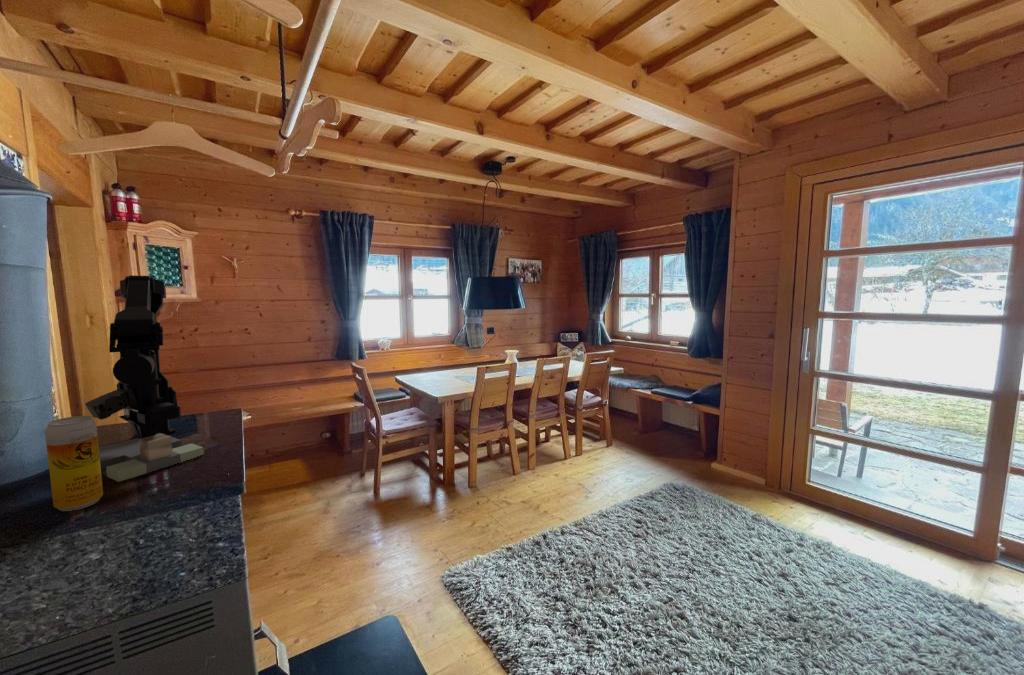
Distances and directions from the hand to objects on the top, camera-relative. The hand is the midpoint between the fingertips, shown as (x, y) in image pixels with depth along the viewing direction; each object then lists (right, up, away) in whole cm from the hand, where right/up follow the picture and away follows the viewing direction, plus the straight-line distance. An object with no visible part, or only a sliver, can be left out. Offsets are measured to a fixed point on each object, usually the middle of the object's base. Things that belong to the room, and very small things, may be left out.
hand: (146, 446), depth 92 cm
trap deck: (-2, -3, +1) cm, 4 cm away
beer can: (+4, -6, -18) cm, 19 cm away
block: (+4, -2, -2) cm, 5 cm away
